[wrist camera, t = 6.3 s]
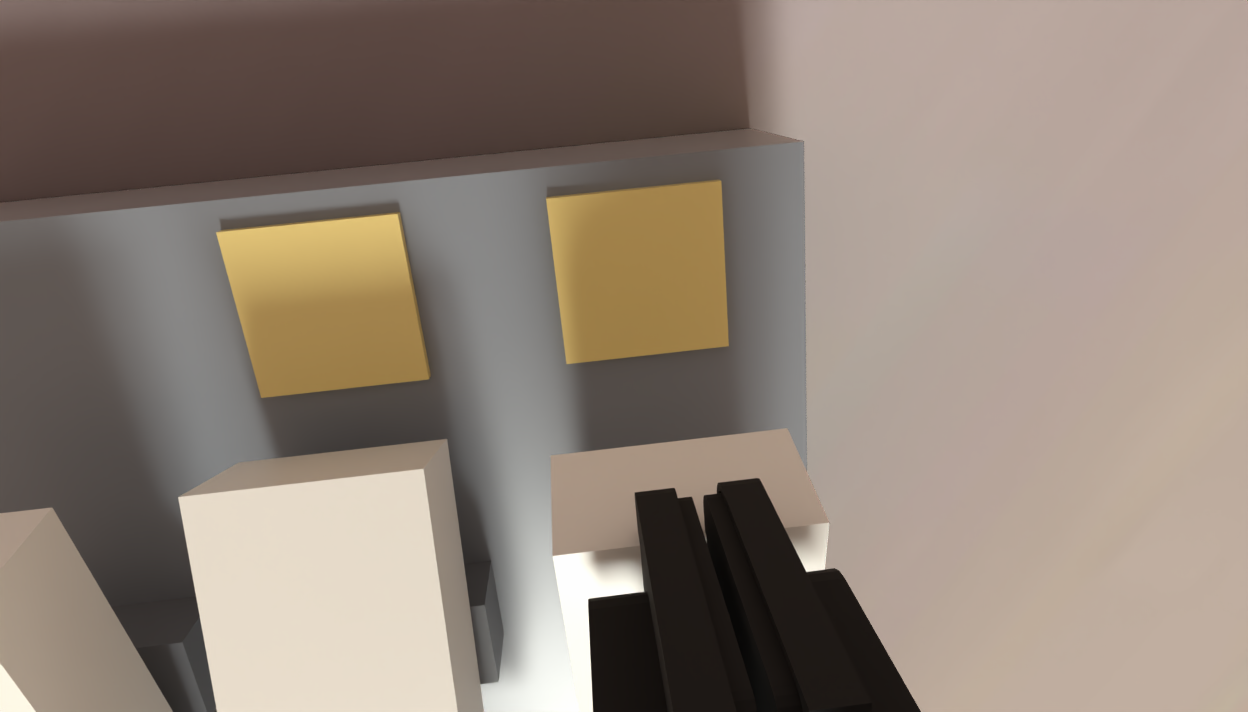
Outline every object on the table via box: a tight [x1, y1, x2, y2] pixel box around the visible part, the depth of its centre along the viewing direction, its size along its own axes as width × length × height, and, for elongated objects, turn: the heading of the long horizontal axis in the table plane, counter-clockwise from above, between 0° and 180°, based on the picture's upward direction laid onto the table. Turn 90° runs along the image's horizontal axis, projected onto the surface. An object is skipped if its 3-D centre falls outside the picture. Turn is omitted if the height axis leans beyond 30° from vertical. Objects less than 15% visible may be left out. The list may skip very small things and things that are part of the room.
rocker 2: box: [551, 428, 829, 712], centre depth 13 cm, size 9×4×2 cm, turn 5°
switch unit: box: [0, 128, 807, 712], centre depth 17 cm, size 17×17×5 cm
